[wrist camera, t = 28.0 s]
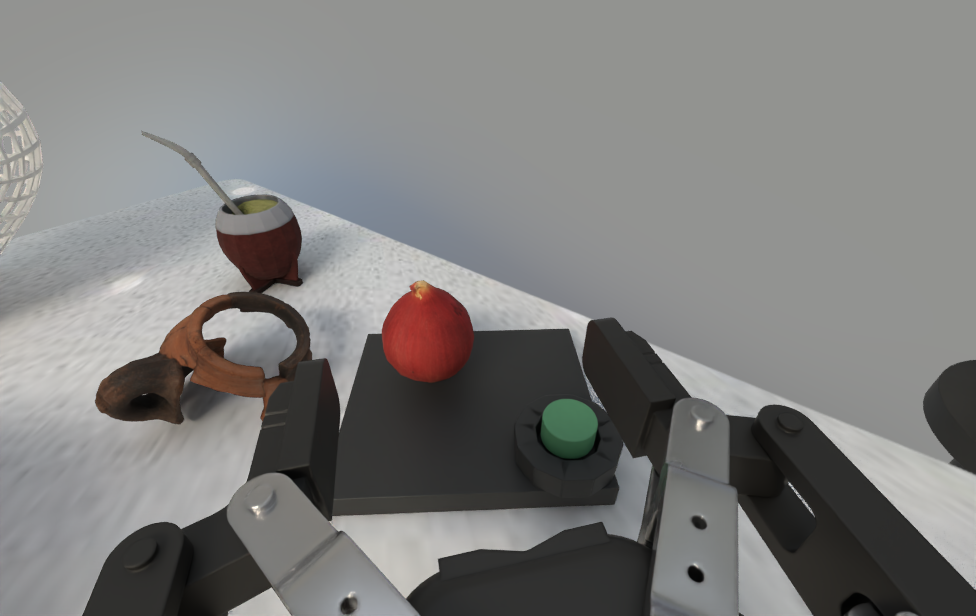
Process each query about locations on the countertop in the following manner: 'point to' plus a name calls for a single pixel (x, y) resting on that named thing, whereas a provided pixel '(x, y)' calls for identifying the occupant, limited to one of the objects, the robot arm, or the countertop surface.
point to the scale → (470, 432)
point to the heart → (30, 154)
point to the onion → (427, 334)
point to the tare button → (568, 428)
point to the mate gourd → (253, 232)
